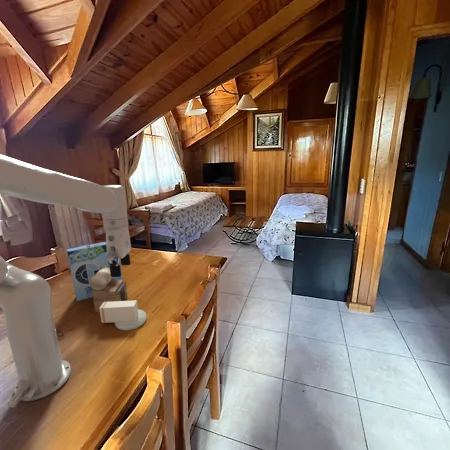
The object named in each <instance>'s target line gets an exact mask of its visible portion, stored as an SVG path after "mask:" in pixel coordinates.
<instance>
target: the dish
mask: <svg viewBox="0 0 450 450" xmlns="http://www.w3.org/2000/svg"><path fill="white" fill-rule="evenodd" d="M146 322H147V312H146V311H145V310H142V309H140V308H138V317H137V319H136V321H126V322H114V325H115V328H116V329H117V330H120V331H132V330H136V329H138V328H140V327H142V326H143V325H144V324H145V323H146Z"/></svg>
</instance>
